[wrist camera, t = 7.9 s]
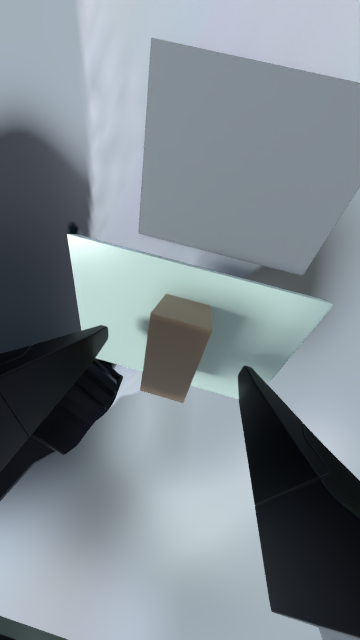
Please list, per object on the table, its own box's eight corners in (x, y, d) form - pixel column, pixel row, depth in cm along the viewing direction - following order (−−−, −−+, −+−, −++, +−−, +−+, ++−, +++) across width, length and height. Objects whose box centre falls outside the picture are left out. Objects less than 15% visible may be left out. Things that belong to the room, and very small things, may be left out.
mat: (300, 275, 17) (302, 275, 17) (139, 233, 18) (138, 233, 17) (411, 100, 11) (418, 95, 10) (152, 44, 11) (151, 37, 11)
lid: (249, 395, 14) (263, 443, 10) (91, 349, 14) (56, 382, 11) (323, 299, 9) (396, 333, 5) (77, 234, 9) (5, 229, 6)
